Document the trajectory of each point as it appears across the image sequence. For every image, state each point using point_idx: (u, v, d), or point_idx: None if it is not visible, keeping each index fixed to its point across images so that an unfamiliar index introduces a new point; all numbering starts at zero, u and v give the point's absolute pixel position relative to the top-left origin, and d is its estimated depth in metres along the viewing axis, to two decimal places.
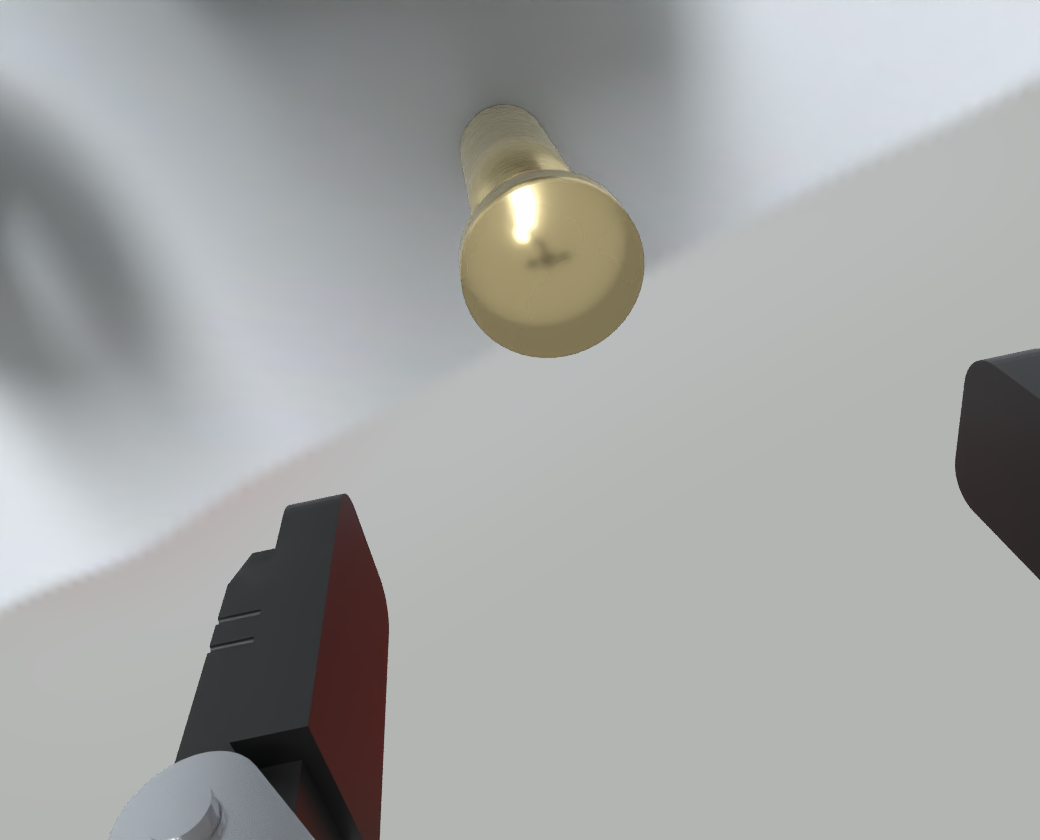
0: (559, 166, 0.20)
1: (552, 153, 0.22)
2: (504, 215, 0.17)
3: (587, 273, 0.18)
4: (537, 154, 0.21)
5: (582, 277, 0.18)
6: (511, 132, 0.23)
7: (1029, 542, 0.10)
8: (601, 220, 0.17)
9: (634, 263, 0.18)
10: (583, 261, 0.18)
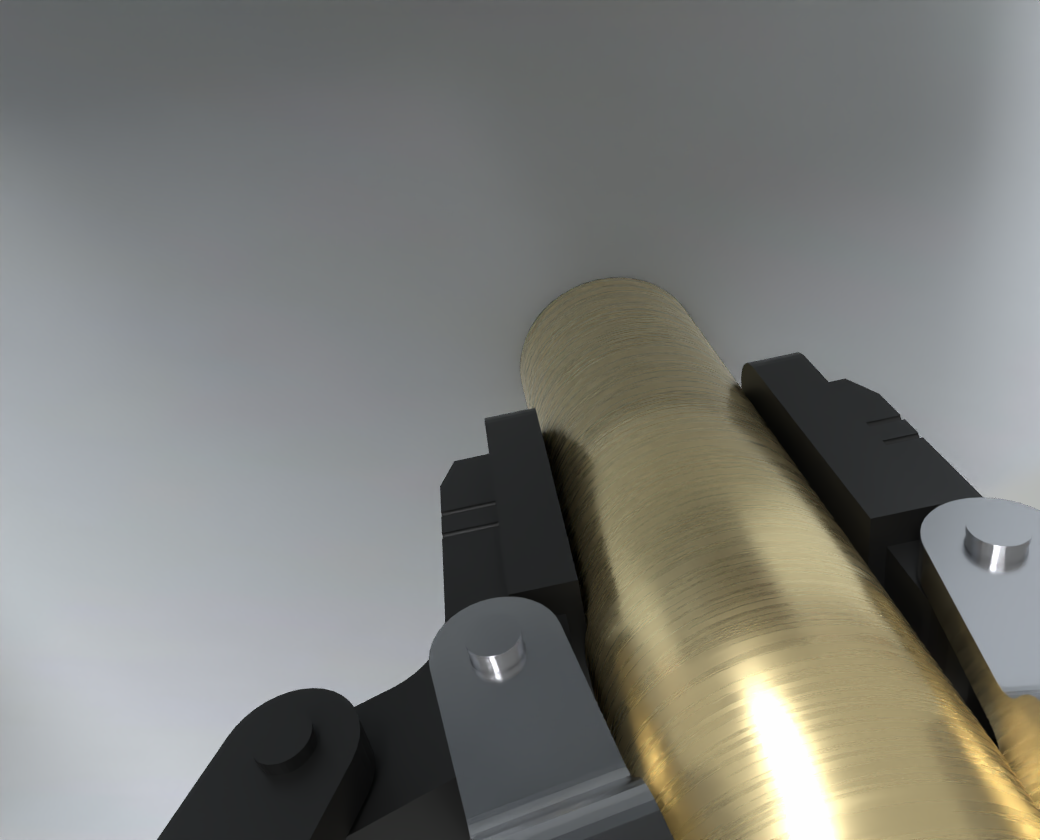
0: (916, 667, 0.06)
1: (831, 537, 0.08)
2: None
3: None
4: (821, 593, 0.07)
5: None
6: (681, 423, 0.09)
7: None
8: None
9: None
10: None
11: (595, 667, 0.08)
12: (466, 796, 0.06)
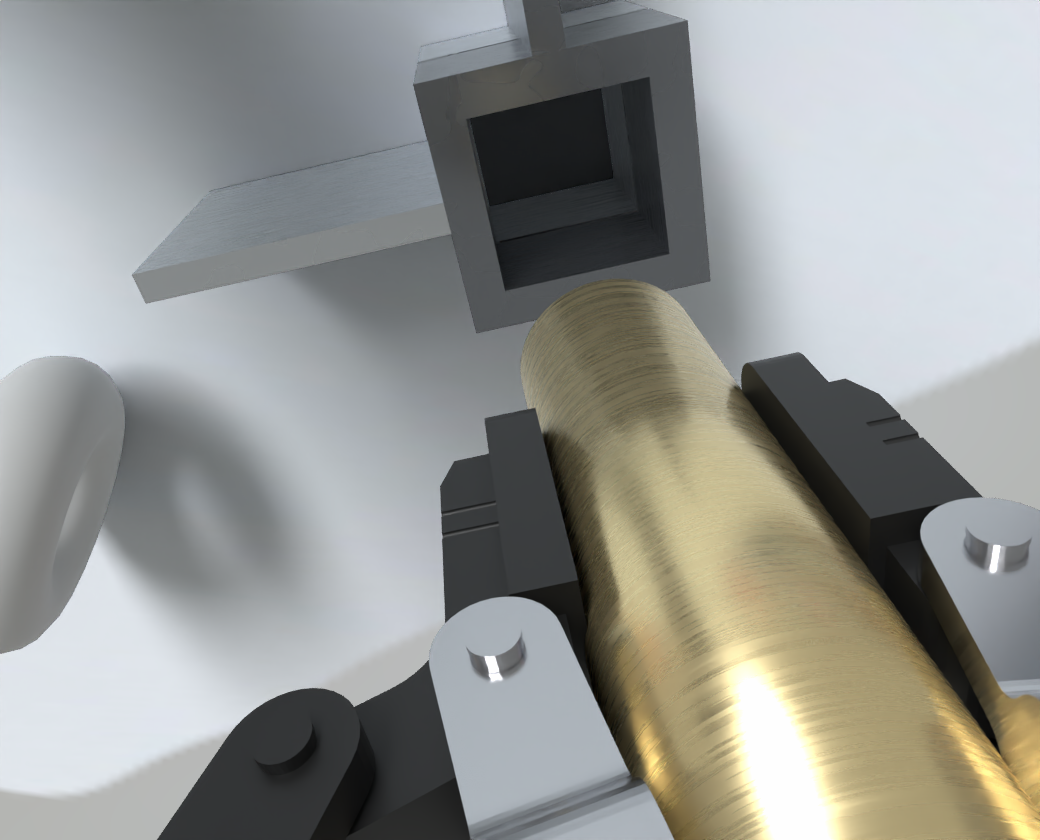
0: (916, 670, 0.06)
1: (830, 539, 0.08)
2: None
3: None
4: (820, 595, 0.07)
5: None
6: (681, 425, 0.09)
7: None
8: None
9: None
10: None
11: (595, 669, 0.08)
12: (467, 796, 0.06)
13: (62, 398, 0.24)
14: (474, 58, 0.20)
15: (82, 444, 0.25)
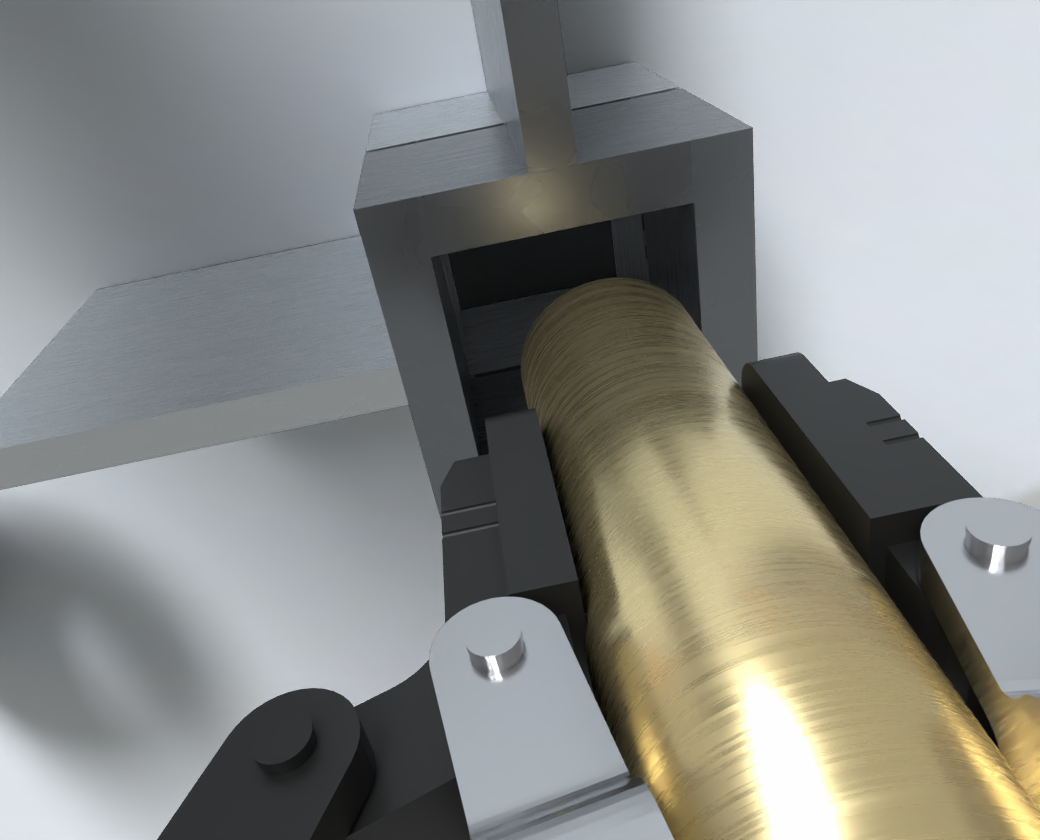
0: (917, 669, 0.06)
1: (831, 538, 0.08)
2: None
3: None
4: (821, 594, 0.07)
5: None
6: (682, 424, 0.09)
7: None
8: None
9: None
10: None
11: (595, 668, 0.08)
12: (466, 798, 0.06)
13: None
14: (443, 159, 0.15)
15: None
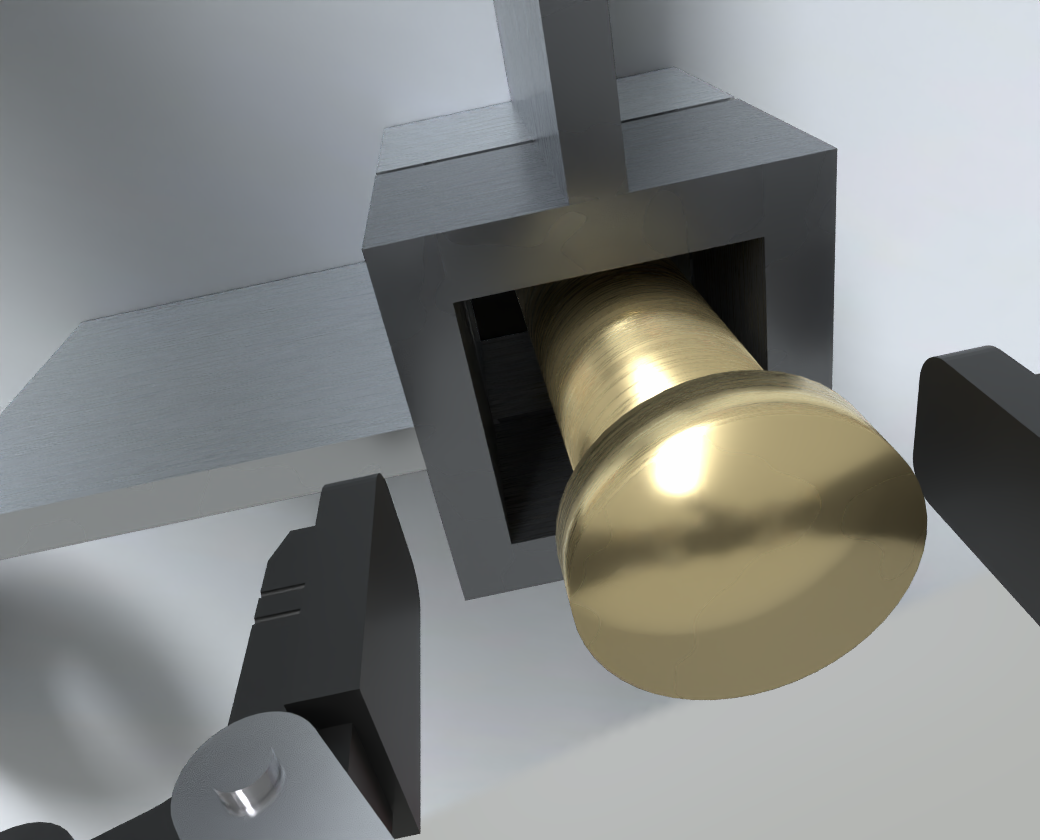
0: (706, 312, 0.12)
1: (677, 275, 0.13)
2: (667, 481, 0.08)
3: (815, 568, 0.09)
4: (662, 286, 0.12)
5: (804, 575, 0.09)
6: None
7: (979, 534, 0.10)
8: (857, 480, 0.08)
9: (906, 546, 0.09)
10: (810, 549, 0.09)
11: (543, 354, 0.13)
12: None
13: None
14: (466, 185, 0.12)
15: None
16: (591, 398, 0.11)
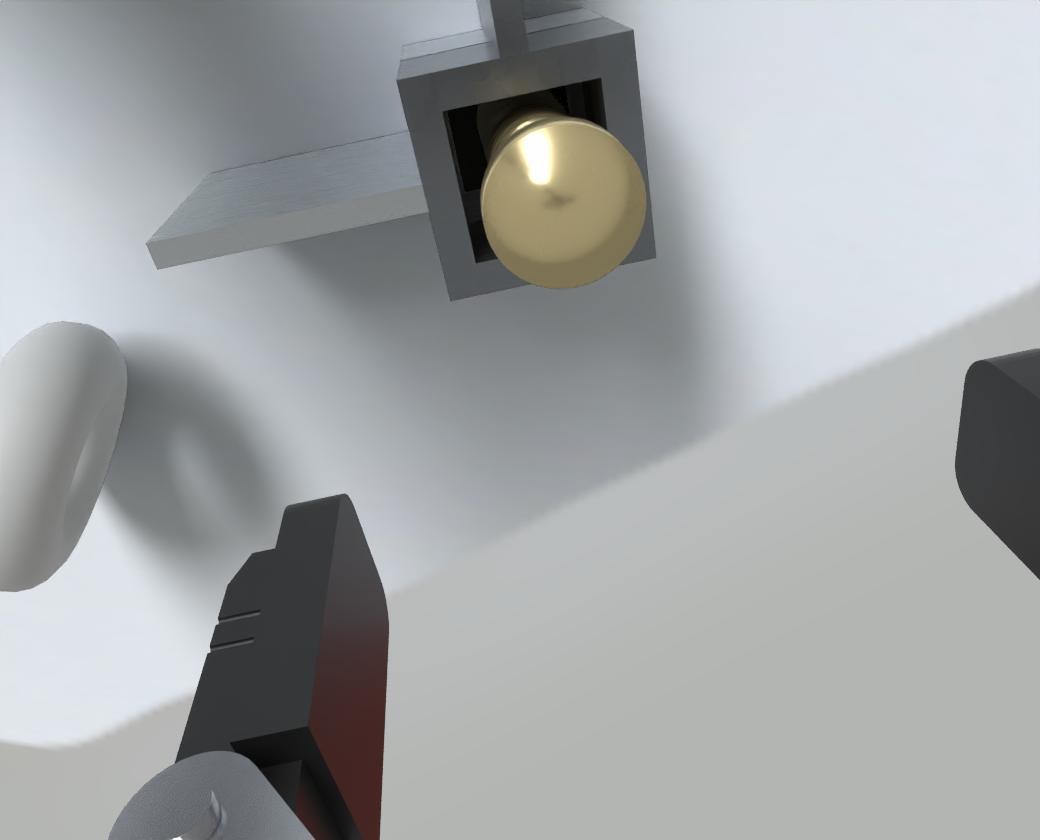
0: None
1: (562, 111, 0.24)
2: (521, 156, 0.19)
3: (595, 209, 0.20)
4: (549, 111, 0.23)
5: (591, 213, 0.20)
6: (525, 95, 0.25)
7: (1029, 542, 0.10)
8: (607, 160, 0.19)
9: (637, 200, 0.20)
10: (591, 198, 0.20)
11: (488, 155, 0.24)
12: None
13: (75, 357, 0.27)
14: (450, 58, 0.23)
15: (93, 399, 0.27)
16: None
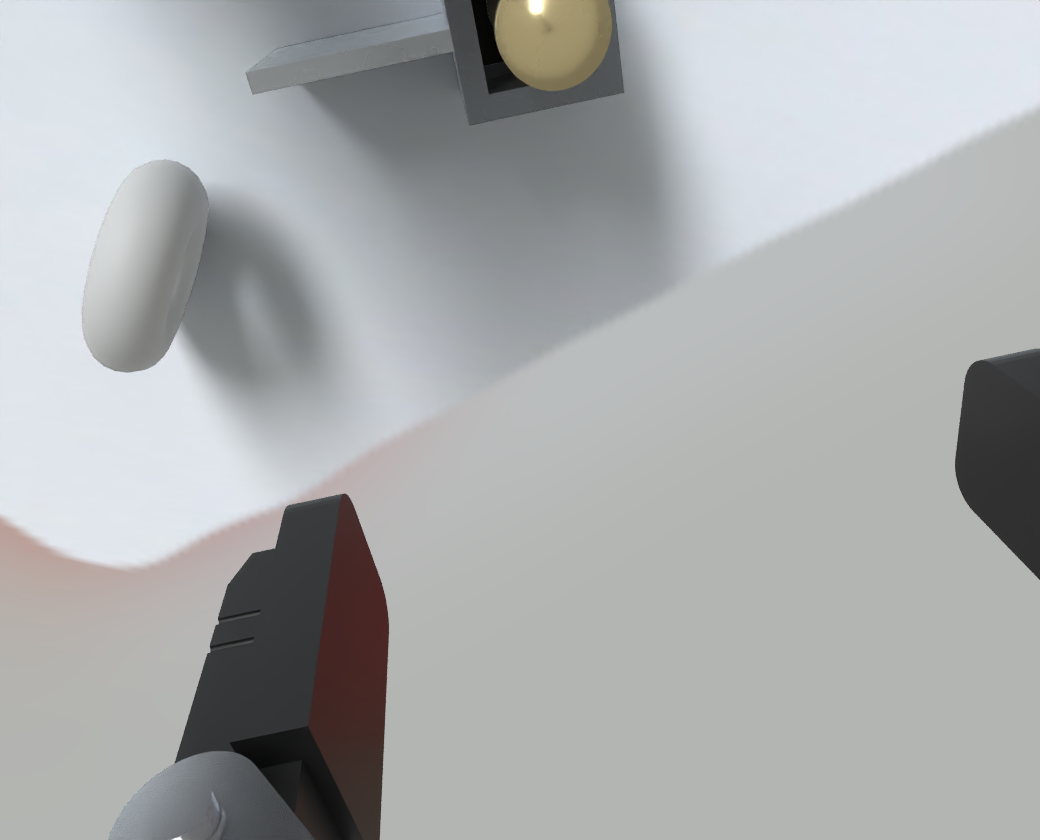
0: None
1: None
2: None
3: (575, 28, 0.28)
4: None
5: (572, 31, 0.28)
6: None
7: (1029, 542, 0.10)
8: None
9: (605, 21, 0.28)
10: (573, 19, 0.28)
11: None
12: None
13: (179, 179, 0.35)
14: None
15: (193, 213, 0.35)
16: None
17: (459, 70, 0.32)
